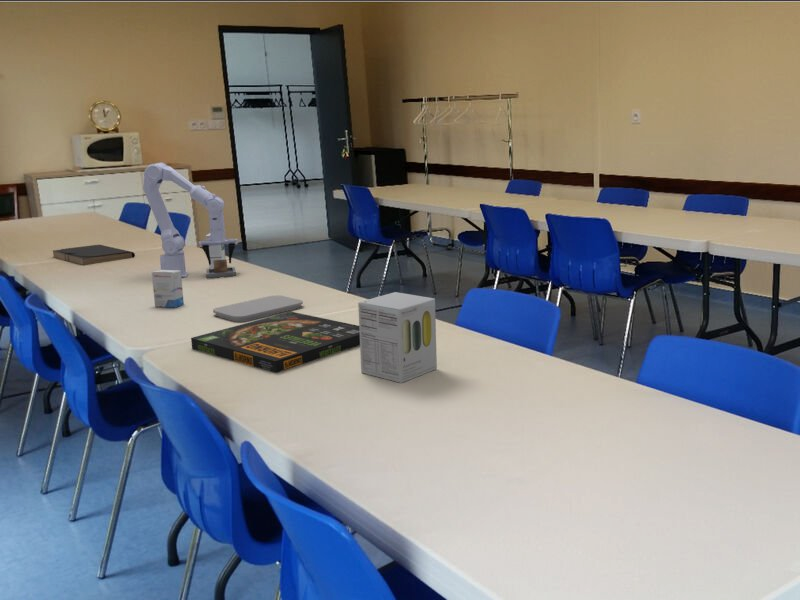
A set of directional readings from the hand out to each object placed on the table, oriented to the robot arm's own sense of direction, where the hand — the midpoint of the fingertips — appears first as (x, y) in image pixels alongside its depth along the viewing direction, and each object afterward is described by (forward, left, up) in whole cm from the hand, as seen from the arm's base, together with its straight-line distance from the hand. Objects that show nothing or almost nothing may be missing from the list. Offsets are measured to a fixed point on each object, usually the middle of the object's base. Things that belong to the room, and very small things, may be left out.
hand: (220, 263), depth 317 cm
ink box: (-18, -47, -5) cm, 51 cm away
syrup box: (-1, +15, -5) cm, 16 cm away
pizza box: (+14, -107, -5) cm, 108 cm away
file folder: (-55, +67, -5) cm, 87 cm away
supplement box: (+38, -140, -5) cm, 145 cm away
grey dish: (0, 0, -5) cm, 5 cm away
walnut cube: (0, 0, -4) cm, 4 cm away
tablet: (+10, -66, -5) cm, 67 cm away
